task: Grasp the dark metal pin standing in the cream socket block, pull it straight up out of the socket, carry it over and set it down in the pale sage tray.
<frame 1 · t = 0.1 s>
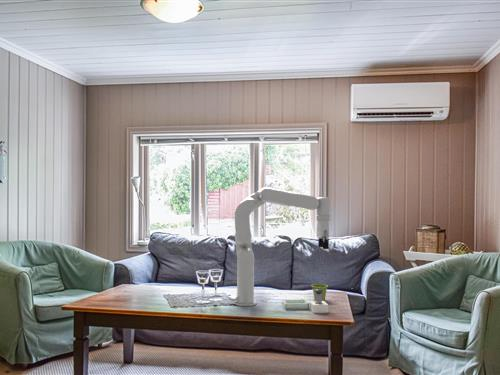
hand: (323, 248, 234), 31 cm above the table, tool pointing down, fingers open, 9 cm apart
plant pot: (319, 300, 238), on the table
tray: (295, 307, 223), on the table
pin: (318, 300, 216), in the socket block
socket block: (318, 310, 215), on the table
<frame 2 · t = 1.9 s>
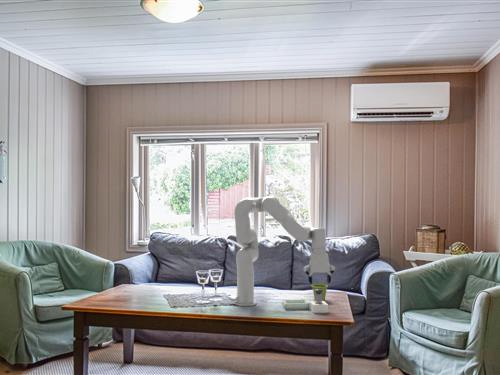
hand: (319, 283, 216), 15 cm above the table, tool pointing down, fingers open, 9 cm apart
nothing on the table moved.
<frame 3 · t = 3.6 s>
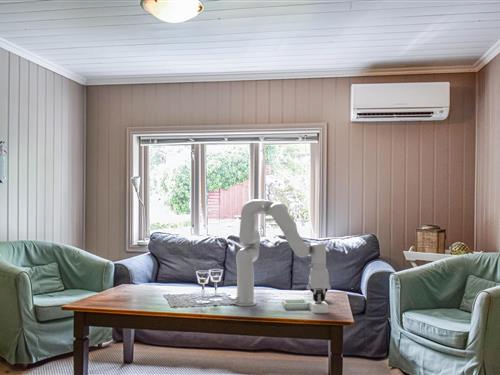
hand: (318, 300, 216), 5 cm above the table, tool pointing down, fingers closed on pin, 3 cm apart
pin: (318, 300, 216), in the socket block, touching gripper
everything else where it was.
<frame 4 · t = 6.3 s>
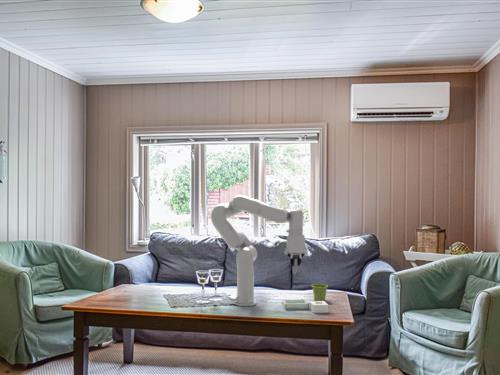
hand: (295, 265, 223), 23 cm above the table, tool pointing down, fingers closed on pin, 3 cm apart
pin: (295, 264, 223), point 23 cm above the table, touching gripper
everything else where it was.
when the fingers open (8 cm above the table, at t = 9.0 s): pin drops 1 cm, resting on tray.
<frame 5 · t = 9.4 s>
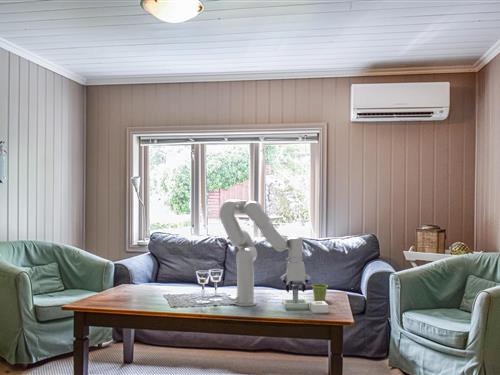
hand: (295, 291, 223), 8 cm above the table, tool pointing down, fingers open, 8 cm apart
pin: (295, 295, 223), in the tray, point 6 cm above the table
everything else where it was.
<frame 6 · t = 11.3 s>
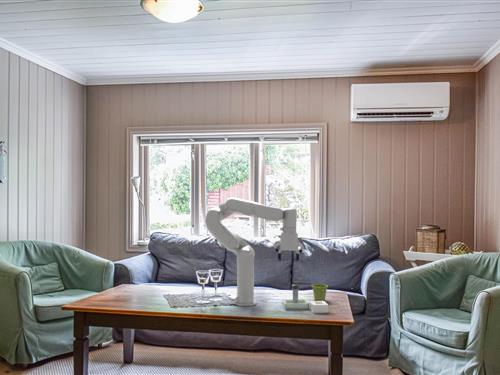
hand: (288, 260, 228), 25 cm above the table, tool pointing down, fingers open, 9 cm apart
nothing on the table moved.
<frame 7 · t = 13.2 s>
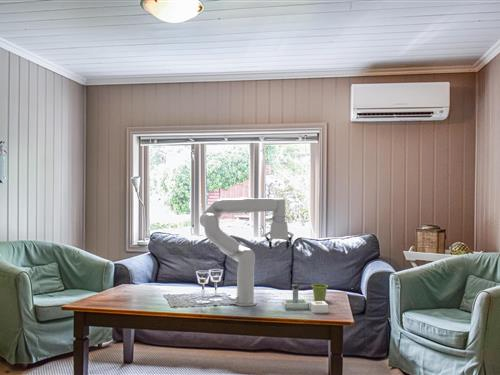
hand: (278, 248, 238), 30 cm above the table, tool pointing down, fingers open, 9 cm apart
nothing on the table moved.
at the end: pin inside the target area on the tray (0.0 cm from its centre), point 6.5 cm above the tray's base; the gripper is holding nothing; pin moved 13.7 cm from its start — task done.
